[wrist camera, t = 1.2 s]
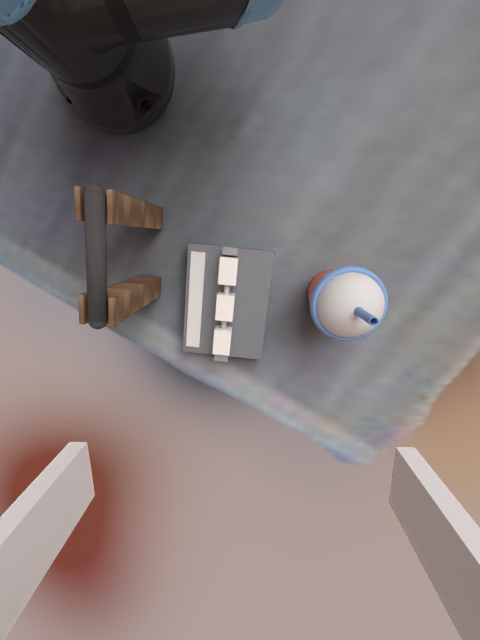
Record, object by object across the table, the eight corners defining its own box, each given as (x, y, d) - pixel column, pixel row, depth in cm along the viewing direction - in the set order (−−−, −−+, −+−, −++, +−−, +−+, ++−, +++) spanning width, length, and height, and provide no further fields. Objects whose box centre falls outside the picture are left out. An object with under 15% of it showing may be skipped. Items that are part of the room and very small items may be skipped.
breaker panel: (192, 242, 45) (185, 242, 40) (273, 250, 45) (275, 251, 40) (186, 345, 49) (179, 356, 45) (260, 353, 49) (261, 365, 44)
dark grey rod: (89, 184, 29) (79, 180, 27) (109, 186, 29) (99, 182, 27) (93, 325, 32) (84, 330, 30) (110, 327, 32) (102, 332, 30)
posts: (140, 205, 44) (73, 185, 28) (164, 208, 44) (112, 189, 28) (139, 294, 48) (79, 323, 31) (161, 296, 48) (113, 327, 31)
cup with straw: (286, 283, 46) (307, 310, 29) (338, 247, 45) (394, 253, 27) (318, 330, 48) (356, 382, 31) (369, 297, 46) (440, 333, 29)
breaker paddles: (221, 255, 42) (219, 256, 40) (238, 257, 42) (238, 258, 40) (214, 348, 46) (212, 354, 43) (230, 349, 46) (229, 355, 43)
